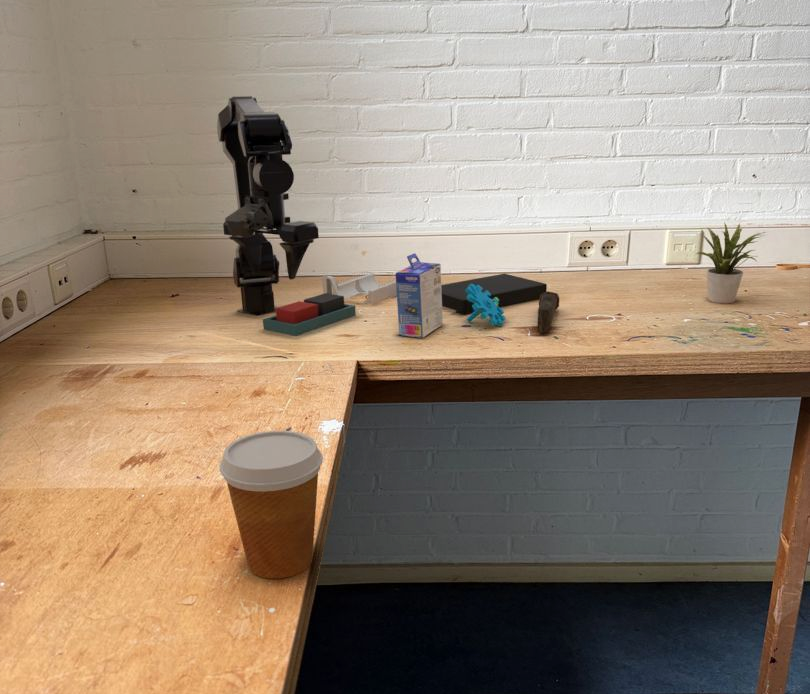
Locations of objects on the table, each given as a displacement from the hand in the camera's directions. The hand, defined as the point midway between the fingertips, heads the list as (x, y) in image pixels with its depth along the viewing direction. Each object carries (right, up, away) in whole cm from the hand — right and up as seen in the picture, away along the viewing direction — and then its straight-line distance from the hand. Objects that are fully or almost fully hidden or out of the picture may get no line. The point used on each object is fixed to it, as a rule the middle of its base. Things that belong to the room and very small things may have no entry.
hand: (273, 276), depth 145 cm
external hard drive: (+41, -1, +29) cm, 51 cm away
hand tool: (+52, -8, +11) cm, 54 cm away
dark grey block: (+8, -6, +16) cm, 19 cm away
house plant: (+91, -3, +22) cm, 94 cm away
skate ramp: (+15, 0, +36) cm, 39 cm away
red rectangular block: (+3, -8, +11) cm, 14 cm away
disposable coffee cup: (+12, -37, -67) cm, 77 cm away
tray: (+5, -8, +13) cm, 16 cm away
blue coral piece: (+40, -8, +11) cm, 42 cm away
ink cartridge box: (+27, -10, +8) cm, 30 cm away
